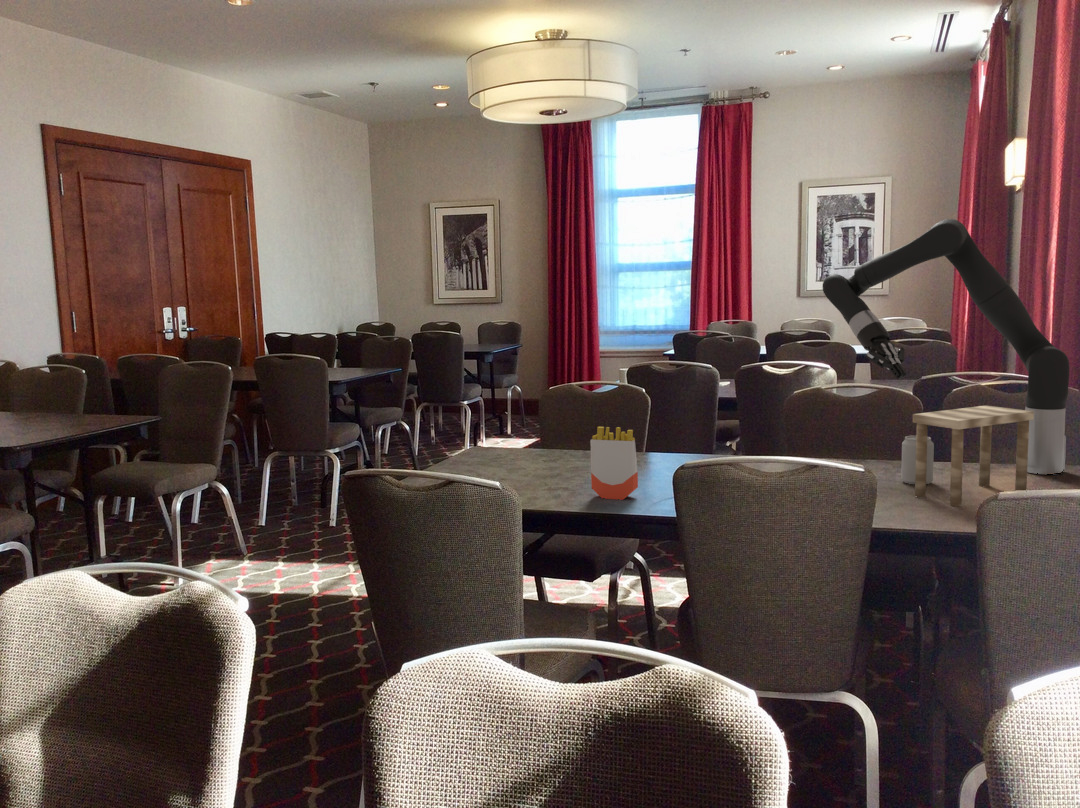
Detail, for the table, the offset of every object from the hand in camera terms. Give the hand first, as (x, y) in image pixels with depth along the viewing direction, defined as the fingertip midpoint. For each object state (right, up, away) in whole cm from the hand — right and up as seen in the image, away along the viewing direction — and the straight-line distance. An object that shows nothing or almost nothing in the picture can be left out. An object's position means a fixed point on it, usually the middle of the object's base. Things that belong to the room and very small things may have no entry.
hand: (902, 377), depth 236 cm
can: (-1, -28, -10) cm, 30 cm away
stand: (+6, -29, -25) cm, 39 cm away
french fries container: (-78, -31, -15) cm, 86 cm away
